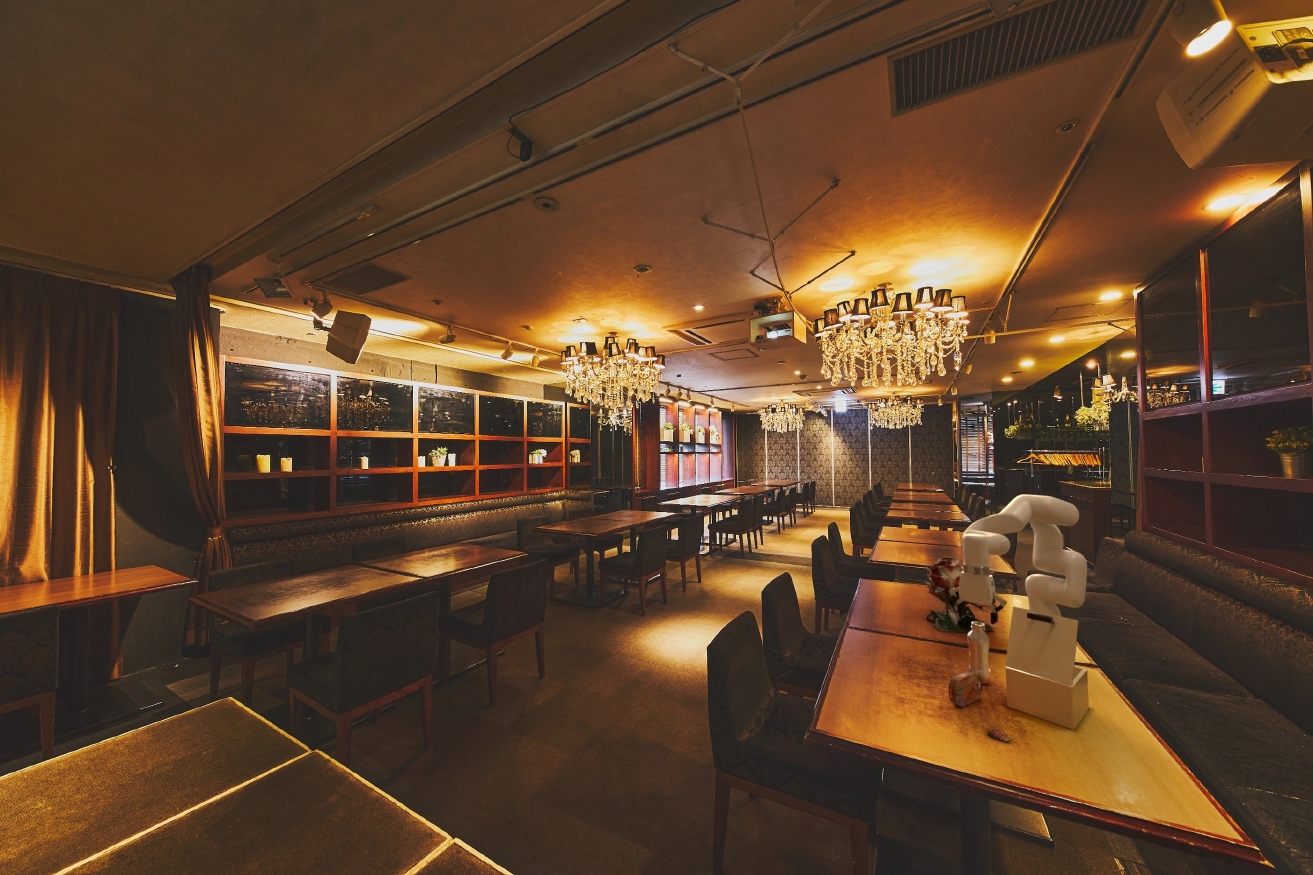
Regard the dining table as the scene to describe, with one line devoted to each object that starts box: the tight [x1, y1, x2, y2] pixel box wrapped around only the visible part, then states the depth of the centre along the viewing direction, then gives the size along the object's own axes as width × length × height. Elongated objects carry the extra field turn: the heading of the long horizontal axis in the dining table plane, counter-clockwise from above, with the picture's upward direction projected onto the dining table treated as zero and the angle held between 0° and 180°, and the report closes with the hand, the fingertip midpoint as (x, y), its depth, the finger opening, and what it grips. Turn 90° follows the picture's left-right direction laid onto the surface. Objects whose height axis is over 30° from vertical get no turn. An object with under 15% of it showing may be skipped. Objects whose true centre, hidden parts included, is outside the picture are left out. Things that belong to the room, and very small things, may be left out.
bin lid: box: [1005, 606, 1079, 686], centre depth 142 cm, size 19×16×5 cm
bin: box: [1005, 665, 1090, 731], centre depth 146 cm, size 18×16×12 cm
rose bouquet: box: [923, 555, 995, 633], centre depth 218 cm, size 26×29×30 cm
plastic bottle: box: [966, 622, 992, 685], centre depth 162 cm, size 6×7×20 cm
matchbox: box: [987, 728, 1010, 742], centre depth 132 cm, size 5×5×1 cm
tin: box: [947, 670, 984, 708], centre depth 150 cm, size 15×3×8 cm, turn 117°
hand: (977, 619), depth 162 cm, fingers open, 9 cm apart
